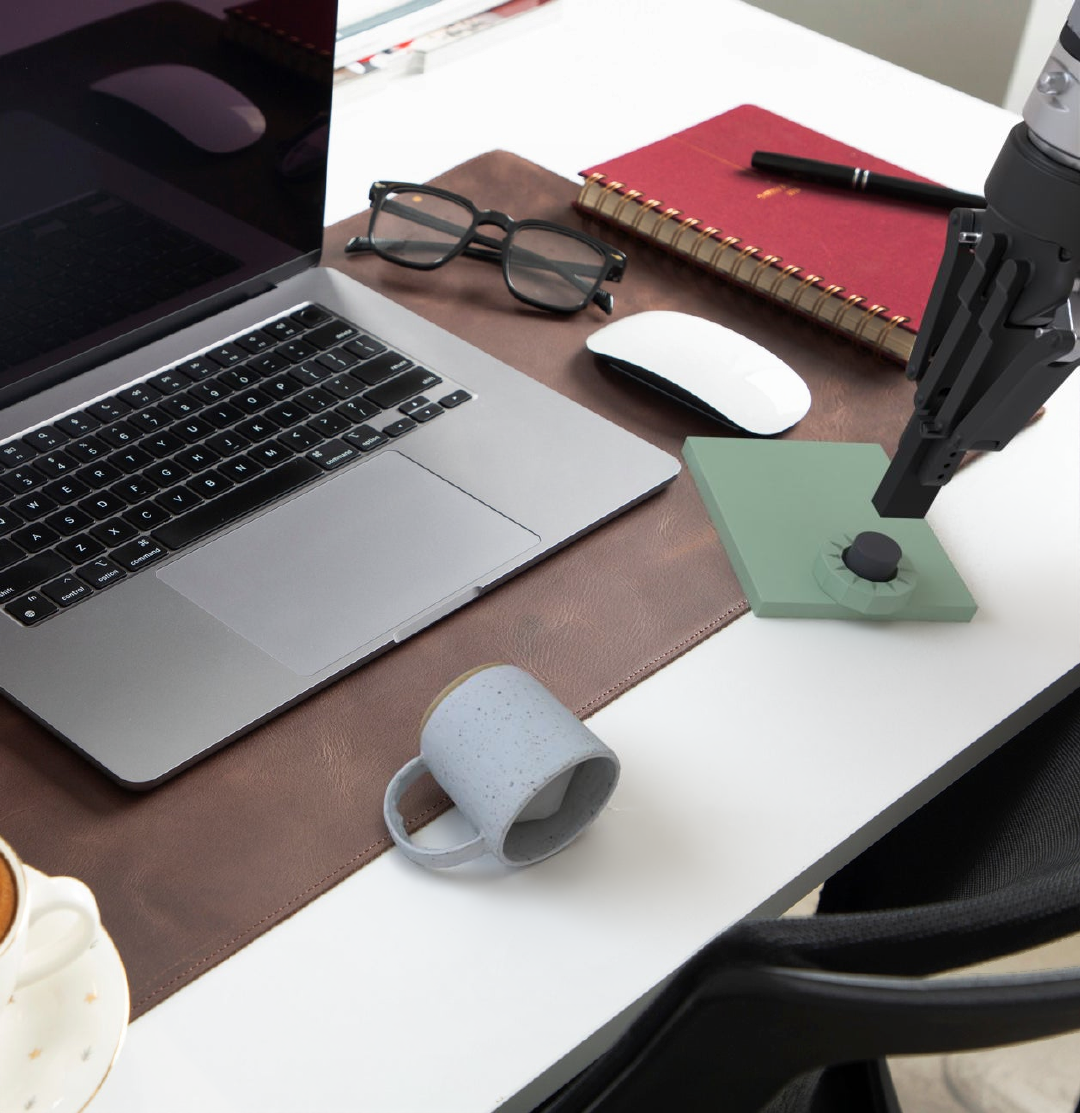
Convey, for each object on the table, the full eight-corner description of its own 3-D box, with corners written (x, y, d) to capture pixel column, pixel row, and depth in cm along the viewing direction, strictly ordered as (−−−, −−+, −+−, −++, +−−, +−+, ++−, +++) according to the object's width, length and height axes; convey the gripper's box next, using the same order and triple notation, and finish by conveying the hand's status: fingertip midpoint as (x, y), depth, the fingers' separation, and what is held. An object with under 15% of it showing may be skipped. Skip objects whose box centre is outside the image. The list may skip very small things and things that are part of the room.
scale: (975, 633, 90) (997, 598, 88) (759, 628, 88) (776, 593, 86) (872, 458, 102) (889, 424, 100) (680, 451, 100) (694, 417, 98)
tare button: (898, 583, 88) (909, 563, 87) (854, 582, 88) (865, 561, 87) (880, 552, 90) (891, 531, 89) (837, 551, 90) (848, 530, 89)
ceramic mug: (503, 723, 80) (533, 627, 75) (601, 831, 76) (641, 736, 70) (345, 796, 76) (366, 699, 71) (440, 916, 71) (470, 822, 66)
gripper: (965, 78, 74) (799, 438, 90) (1088, 210, 65) (879, 585, 81) (1101, 87, 75) (913, 442, 91) (1242, 219, 66) (1004, 589, 82)
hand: (897, 509), depth 86 cm, fingers closed
